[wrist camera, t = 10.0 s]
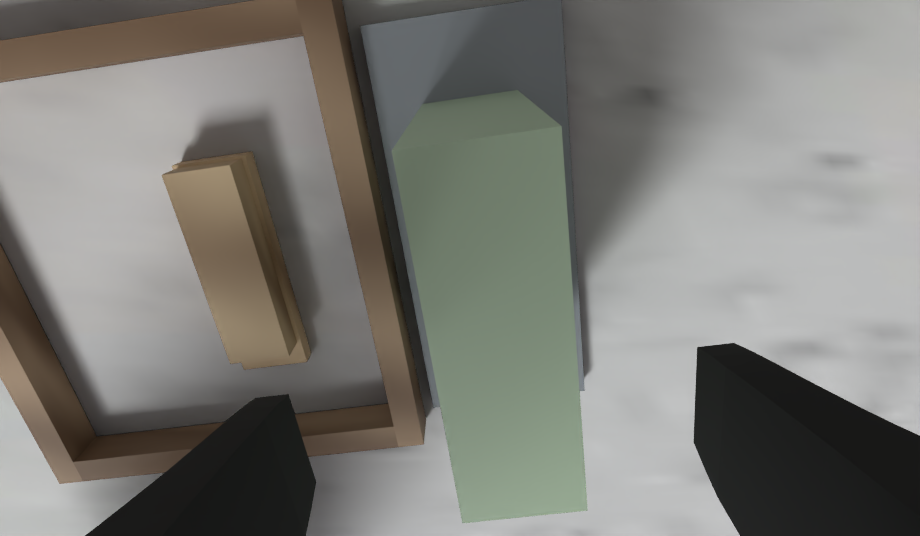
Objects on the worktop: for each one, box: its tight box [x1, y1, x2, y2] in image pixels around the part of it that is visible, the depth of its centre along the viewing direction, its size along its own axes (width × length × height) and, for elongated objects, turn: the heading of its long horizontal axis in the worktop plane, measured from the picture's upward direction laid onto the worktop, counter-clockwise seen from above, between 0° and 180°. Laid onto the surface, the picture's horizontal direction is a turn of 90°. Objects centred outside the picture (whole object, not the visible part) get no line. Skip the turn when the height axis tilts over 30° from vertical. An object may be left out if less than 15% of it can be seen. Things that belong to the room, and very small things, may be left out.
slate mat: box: [360, 0, 585, 408], centre depth 19 cm, size 14×6×1 cm, turn 8°
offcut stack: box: [162, 151, 311, 370], centre depth 19 cm, size 8×2×2 cm, turn 8°
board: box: [392, 90, 587, 523], centre depth 15 cm, size 9×3×8 cm, turn 8°
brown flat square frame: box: [0, 0, 426, 484], centre depth 19 cm, size 16×15×2 cm
